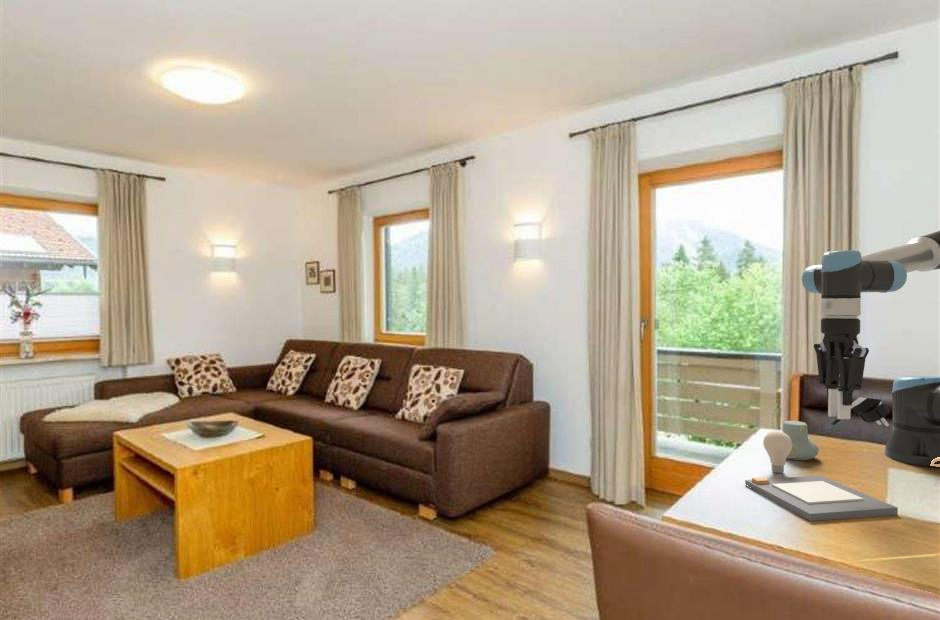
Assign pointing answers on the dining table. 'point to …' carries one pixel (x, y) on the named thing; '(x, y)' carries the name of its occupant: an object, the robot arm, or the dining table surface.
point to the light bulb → (777, 449)
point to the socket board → (820, 498)
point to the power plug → (868, 410)
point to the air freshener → (800, 441)
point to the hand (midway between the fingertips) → (839, 417)
